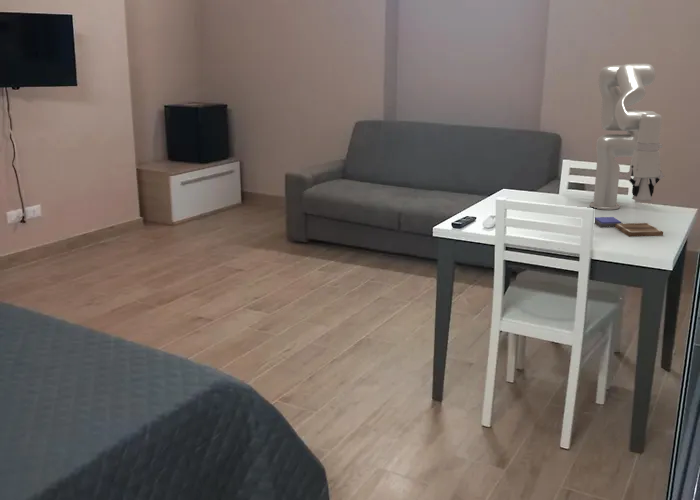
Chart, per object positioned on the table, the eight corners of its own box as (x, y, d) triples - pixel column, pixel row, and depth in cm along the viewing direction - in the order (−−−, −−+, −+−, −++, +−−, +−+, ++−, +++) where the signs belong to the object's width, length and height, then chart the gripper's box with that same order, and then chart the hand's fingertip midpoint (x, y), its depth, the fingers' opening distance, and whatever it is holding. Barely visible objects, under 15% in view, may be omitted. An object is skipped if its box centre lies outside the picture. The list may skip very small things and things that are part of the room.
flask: (654, 202, 266) (657, 175, 263) (633, 201, 268) (636, 175, 265) (650, 198, 273) (653, 172, 270) (630, 197, 275) (632, 171, 272)
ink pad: (591, 221, 289) (592, 217, 288) (613, 221, 289) (614, 216, 289) (600, 227, 280) (601, 222, 280) (623, 227, 281) (623, 222, 280)
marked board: (614, 227, 280) (615, 223, 280) (647, 226, 281) (647, 222, 280) (629, 236, 268) (629, 232, 267) (662, 235, 268) (663, 231, 268)
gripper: (665, 145, 269) (659, 193, 274) (620, 146, 268) (616, 194, 273) (674, 148, 262) (669, 197, 267) (629, 149, 261) (624, 198, 266)
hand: (642, 195), depth 270 cm, fingers closed on flask, 4 cm apart
